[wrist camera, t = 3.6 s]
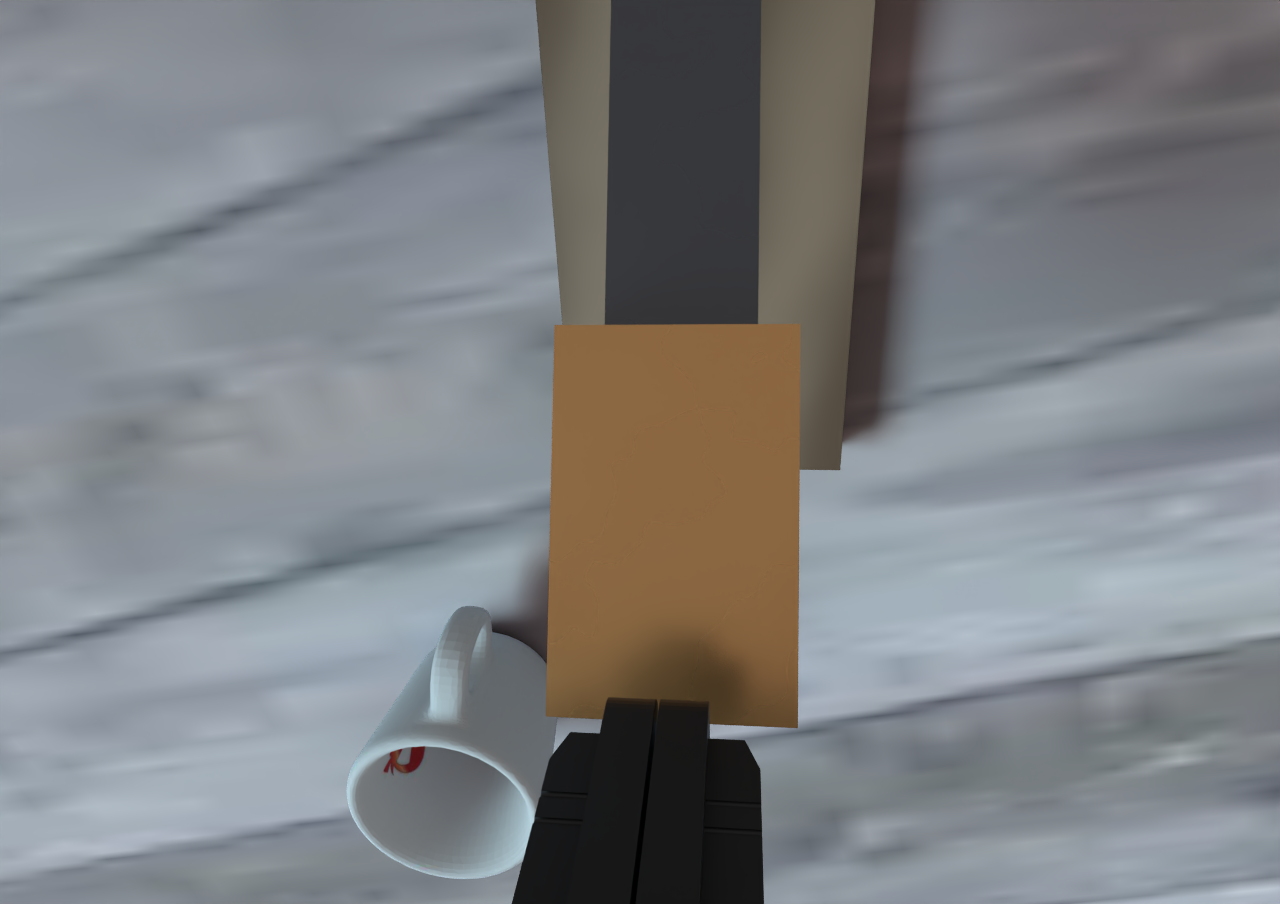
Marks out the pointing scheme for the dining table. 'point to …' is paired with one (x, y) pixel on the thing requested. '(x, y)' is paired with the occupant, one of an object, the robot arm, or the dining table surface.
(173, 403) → the dining table surface
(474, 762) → the cup
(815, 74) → the press base
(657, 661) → the press lever
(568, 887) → the robot arm
